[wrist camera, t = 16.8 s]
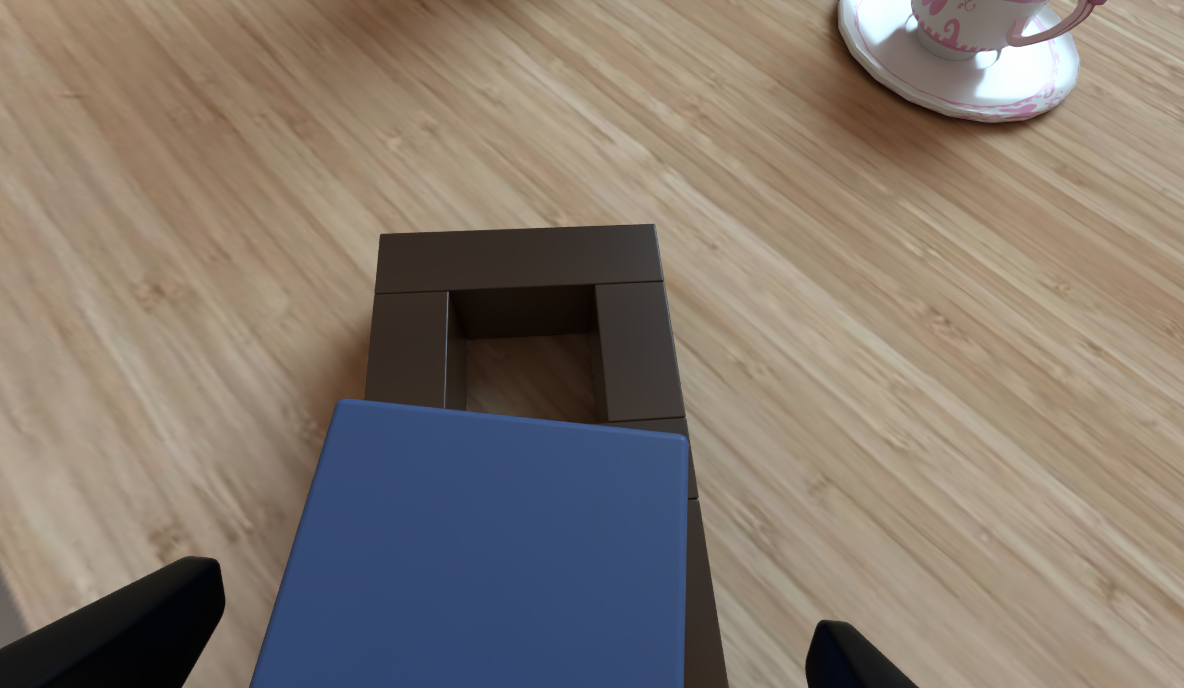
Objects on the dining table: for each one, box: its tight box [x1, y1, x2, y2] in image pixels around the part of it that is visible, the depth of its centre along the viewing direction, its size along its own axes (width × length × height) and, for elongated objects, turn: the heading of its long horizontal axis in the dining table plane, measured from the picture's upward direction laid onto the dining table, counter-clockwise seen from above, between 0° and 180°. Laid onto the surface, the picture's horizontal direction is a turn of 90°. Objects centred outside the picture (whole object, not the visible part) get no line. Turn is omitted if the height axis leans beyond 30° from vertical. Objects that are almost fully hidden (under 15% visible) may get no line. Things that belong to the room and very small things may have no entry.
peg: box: [249, 399, 689, 688], centre depth 10 cm, size 3×3×13 cm
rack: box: [365, 224, 729, 688], centre depth 16 cm, size 15×9×4 cm, turn 5°
